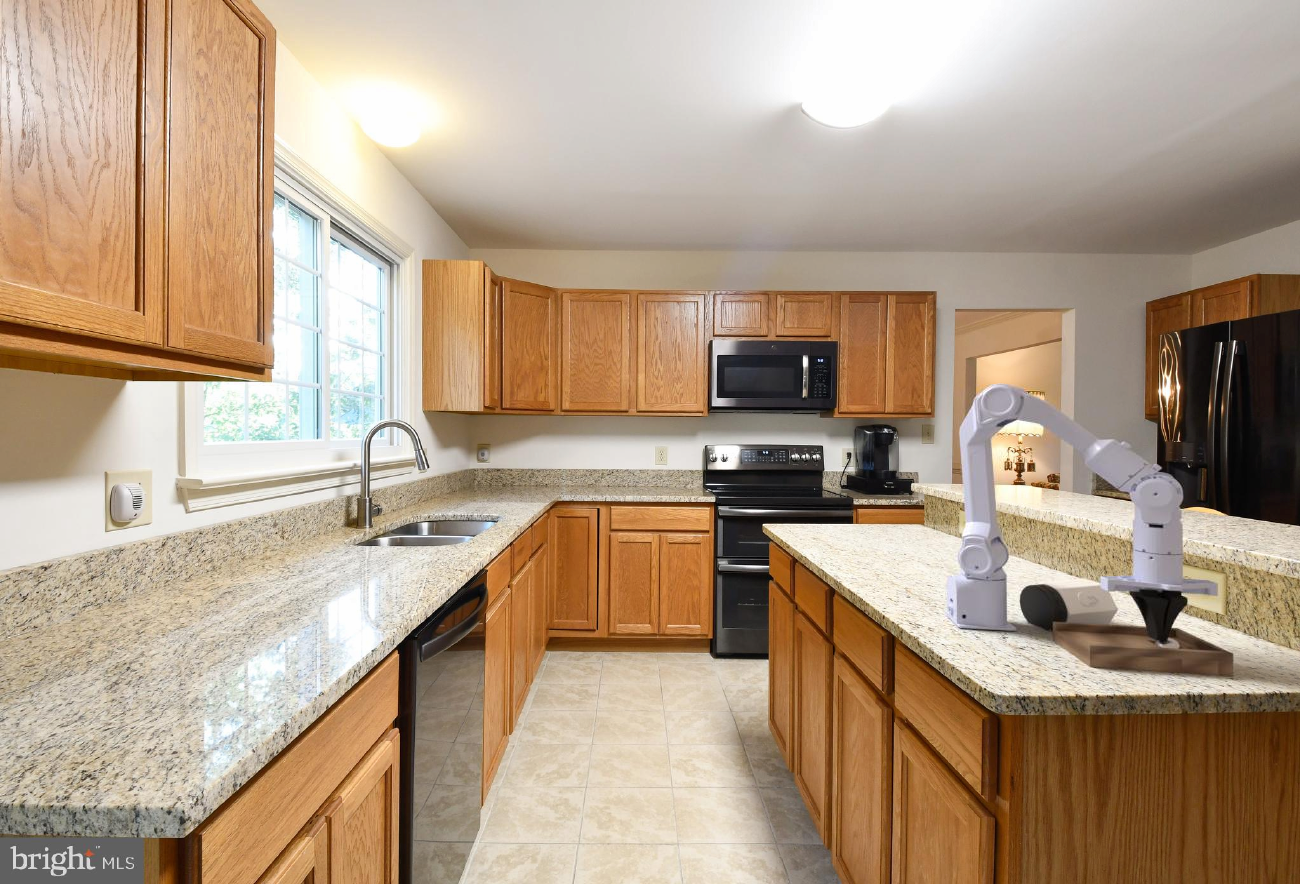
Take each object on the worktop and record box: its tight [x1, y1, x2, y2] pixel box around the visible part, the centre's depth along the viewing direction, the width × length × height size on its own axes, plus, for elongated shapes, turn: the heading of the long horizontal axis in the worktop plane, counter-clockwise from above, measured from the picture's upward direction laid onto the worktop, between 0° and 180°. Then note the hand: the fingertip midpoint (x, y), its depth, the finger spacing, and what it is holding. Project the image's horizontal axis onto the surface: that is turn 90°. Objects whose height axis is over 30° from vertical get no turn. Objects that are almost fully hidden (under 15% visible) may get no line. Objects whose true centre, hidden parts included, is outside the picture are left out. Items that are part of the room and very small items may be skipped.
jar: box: [1019, 577, 1119, 631], centre depth 102 cm, size 9×8×12 cm
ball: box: [1155, 638, 1182, 649], centre depth 86 cm, size 3×3×3 cm
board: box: [1052, 622, 1234, 677], centre depth 87 cm, size 18×11×3 cm, turn 78°
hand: (1157, 638), depth 86 cm, fingers closed
